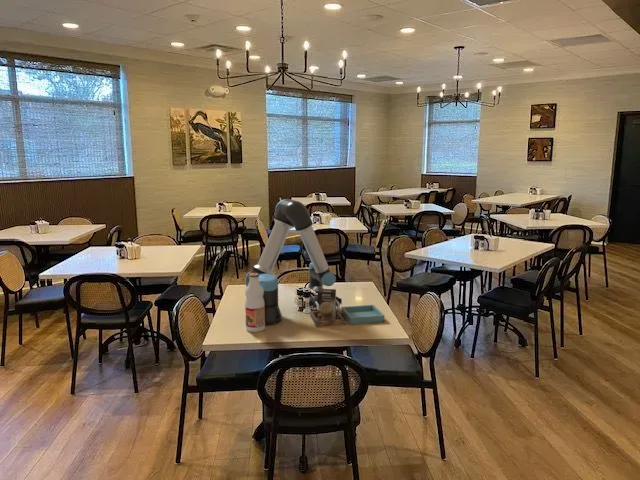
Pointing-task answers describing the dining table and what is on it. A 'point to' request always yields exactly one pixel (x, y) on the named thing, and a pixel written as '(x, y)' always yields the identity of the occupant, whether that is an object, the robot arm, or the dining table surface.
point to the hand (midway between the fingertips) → (328, 307)
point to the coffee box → (327, 304)
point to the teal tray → (362, 314)
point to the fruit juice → (254, 305)
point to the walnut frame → (328, 322)
